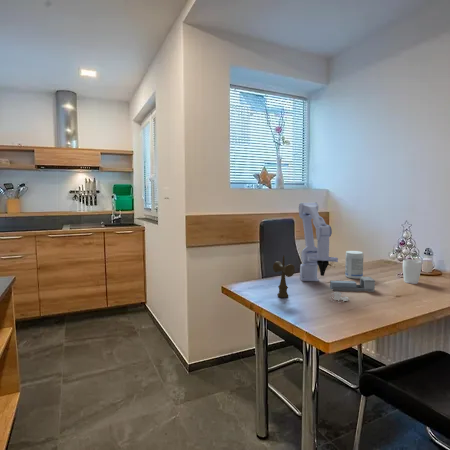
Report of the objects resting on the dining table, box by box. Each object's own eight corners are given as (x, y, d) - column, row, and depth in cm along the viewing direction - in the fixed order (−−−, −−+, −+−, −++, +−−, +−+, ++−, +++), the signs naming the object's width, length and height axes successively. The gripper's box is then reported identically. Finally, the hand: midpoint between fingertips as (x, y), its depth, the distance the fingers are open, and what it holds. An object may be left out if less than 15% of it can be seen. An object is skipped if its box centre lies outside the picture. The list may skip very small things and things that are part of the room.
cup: (415, 280, 177) (416, 259, 176) (423, 284, 168) (425, 262, 167) (398, 279, 178) (399, 258, 177) (406, 284, 169) (407, 262, 168)
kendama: (285, 300, 144) (286, 257, 142) (271, 295, 152) (271, 254, 150) (294, 298, 147) (295, 256, 145) (280, 292, 155) (281, 252, 153)
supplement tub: (365, 277, 184) (366, 252, 182) (358, 280, 177) (359, 254, 175) (349, 273, 191) (350, 249, 189) (341, 276, 184) (342, 252, 182)
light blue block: (331, 290, 160) (331, 282, 160) (329, 288, 164) (330, 280, 163) (356, 290, 159) (356, 283, 158) (353, 288, 162) (354, 281, 162)
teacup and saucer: (349, 300, 146) (350, 291, 145) (346, 305, 139) (347, 296, 138) (330, 297, 150) (330, 288, 150) (326, 302, 143) (326, 293, 143)
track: (333, 290, 158) (333, 279, 158) (330, 286, 165) (330, 275, 165) (374, 291, 156) (375, 280, 156) (369, 287, 163) (369, 276, 163)
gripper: (309, 250, 157) (309, 277, 158) (339, 250, 155) (338, 277, 157) (307, 247, 164) (306, 273, 165) (336, 248, 162) (335, 274, 164)
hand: (322, 275), depth 161 cm, fingers closed
